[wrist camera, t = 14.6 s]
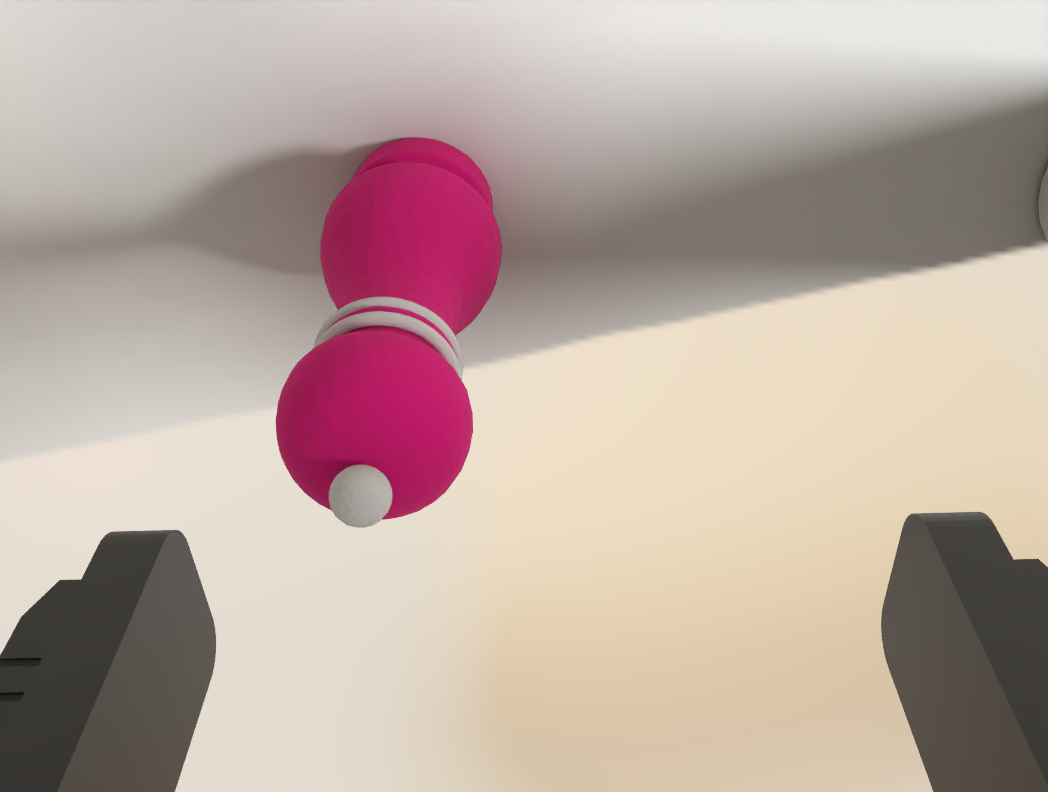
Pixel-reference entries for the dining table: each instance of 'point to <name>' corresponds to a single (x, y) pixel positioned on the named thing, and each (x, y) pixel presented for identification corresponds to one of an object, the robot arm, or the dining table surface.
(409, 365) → the pepper mill
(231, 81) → the dining table surface
